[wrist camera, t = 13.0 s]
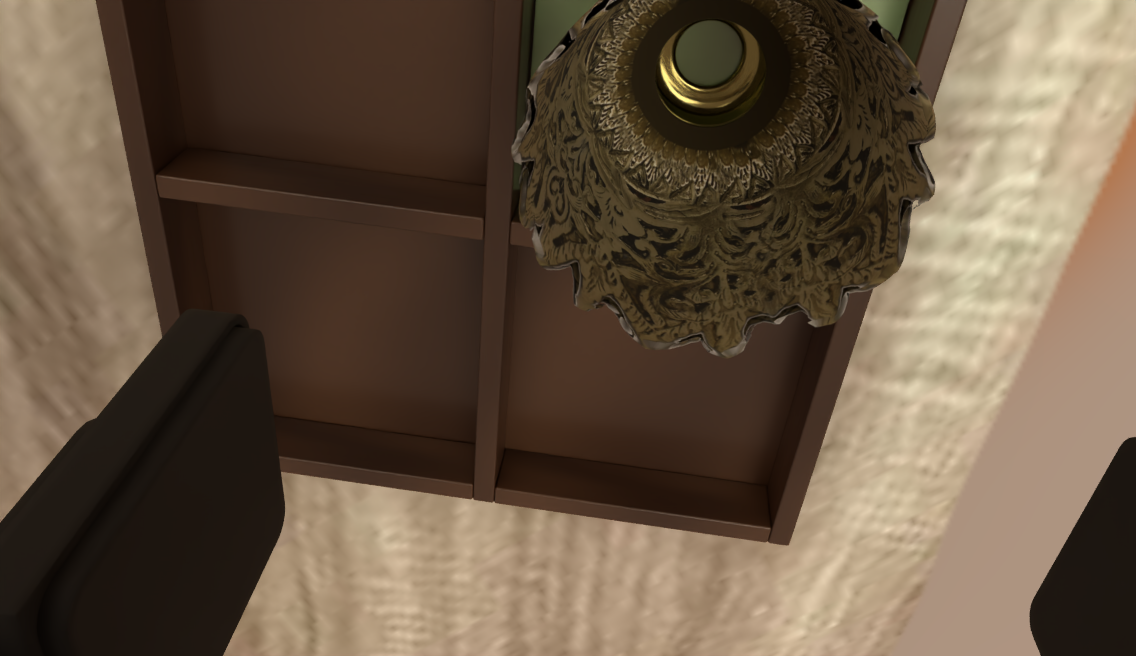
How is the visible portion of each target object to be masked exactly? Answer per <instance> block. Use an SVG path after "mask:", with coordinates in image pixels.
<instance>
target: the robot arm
mask: <svg viewBox="0 0 1136 656" xmlns="http://www.w3.org/2000/svg"><path fill="white" fill-rule="evenodd" d="M284 516H285V501H284V493H283V485H282V477H281V469H280V461H279V453H278V445H277V437H276V429H275V421H274V413H273V405H272V397H271V389H270V381H269V373H268V365H267V357H266V349H265V341H264V337H263V334H262V332H261V331H259V330H256V329H250V328H249V324H248V321H247V320H246V318H245V317H244V316H243V315H241V314H234V313H226V312H218V311H210V310H202V309H193V308H192V309H187V310H186V311H185V312H184V313H183V314H181V316H180V317H179V318H178V319H177V320H176V322H175V323H174V324H173V325H172V327H171V328H170V329H169V330H168V331H167V333H166V334H165V335H164V336H163V337H162V339H161V340H160V341H159V342H158V344H157V345H156V346H155V347H154V348H153V350H152V351H151V352H150V353H149V355H148V356H147V357H146V358H145V359H144V361H143V362H142V363H141V364H140V366H139V367H138V368H137V369H136V370H135V372H134V373H133V374H132V375H131V377H130V378H129V379H128V380H127V381H126V383H125V384H124V385H123V386H122V387H121V389H120V390H119V391H118V392H117V394H116V395H115V396H114V397H113V398H112V400H111V401H110V402H109V403H108V405H107V406H106V407H105V408H104V409H103V411H102V412H101V413H100V414H99V416H98V417H97V418H95V419H93V420H90V421H88V422H86V423H85V424H84V425H83V426H82V427H81V428H80V429H79V430H78V431H76V433H75V434H74V435H73V436H72V437H71V439H70V440H69V441H68V442H67V443H66V445H65V446H64V447H63V448H62V449H61V451H60V452H59V453H58V454H57V455H56V457H55V458H54V459H53V460H52V461H51V463H50V464H49V465H48V466H47V467H46V469H45V470H44V471H43V472H42V473H41V475H40V476H39V477H38V478H37V479H36V481H35V482H34V483H33V484H32V485H31V487H30V488H29V489H28V490H27V491H26V493H25V494H24V495H23V496H22V497H21V499H20V500H19V501H18V502H17V503H16V505H15V506H14V507H13V508H12V509H11V511H10V512H9V513H8V514H7V515H6V517H5V518H4V519H3V520H2V521H1V523H0V656H223V654H224V652H225V650H226V648H227V646H228V644H229V642H230V640H231V638H232V635H233V633H234V631H235V629H236V627H237V625H238V623H239V621H240V619H241V616H242V614H243V612H244V610H245V608H246V606H247V604H248V602H249V600H250V597H251V595H252V593H253V591H254V589H255V587H256V585H257V583H258V581H259V579H260V576H261V574H262V572H263V570H264V568H265V566H266V564H267V562H268V560H269V557H270V555H271V553H272V551H273V549H274V547H275V545H276V543H277V541H278V538H279V536H280V533H281V530H282V527H283V522H284ZM1030 627H1031V631H1032V634H1033V637H1034V640H1035V642H1036V645H1037V647H1038V650H1039V652H1040V655H1041V656H1136V437H1132V438H1129V439H1127V440H1125V441H1124V442H1123V444H1122V445H1121V446H1120V448H1119V449H1118V451H1117V453H1116V455H1115V456H1114V458H1113V460H1112V462H1111V463H1110V465H1109V467H1108V469H1107V470H1106V472H1105V474H1104V476H1103V477H1102V479H1101V481H1100V483H1099V484H1098V486H1097V488H1096V490H1095V491H1094V493H1093V495H1092V497H1091V499H1090V500H1089V502H1088V504H1087V506H1086V507H1085V509H1084V511H1083V513H1082V514H1081V516H1080V518H1079V520H1078V522H1077V523H1076V525H1075V527H1074V528H1073V530H1072V532H1071V534H1070V535H1069V537H1068V539H1067V541H1066V542H1065V544H1064V546H1063V548H1062V549H1061V551H1060V553H1059V555H1058V557H1057V558H1056V560H1055V562H1054V564H1053V565H1052V567H1051V569H1050V570H1049V572H1048V574H1047V576H1046V578H1045V579H1044V581H1043V583H1042V585H1041V586H1040V588H1039V590H1038V592H1037V593H1036V595H1035V597H1034V599H1033V601H1032V604H1031V608H1030Z"/></svg>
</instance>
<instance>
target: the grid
mask: <svg viewBox="0 0 1136 656" xmlns="http://www.w3.org/2000/svg"><path fill="white" fill-rule="evenodd" d="M597 1H598V0H96V4H97V9H98V14H99V19H100V25H101V30H102V35H103V40H104V45H105V50H106V55H107V60H108V65H109V70H110V75H111V80H112V85H113V90H114V95H115V100H116V105H117V110H118V115H119V120H120V125H121V130H122V135H123V140H124V145H125V150H126V156H127V161H128V166H129V171H130V176H131V181H132V186H133V191H134V196H135V201H136V206H137V211H138V216H139V221H140V226H141V231H142V236H143V241H144V246H145V251H146V256H147V261H148V266H149V271H150V276H151V282H152V287H153V292H154V297H155V302H156V307H157V312H158V317H159V322H160V327H161V332H162V337H163V336H164V335H165V334H166V333H167V331H168V330H169V329H170V328H171V327H172V325H173V324H174V323H175V322H176V320H177V319H178V318H179V317H180V316H181V314H183V313H184V312H185V311H186V310H187V309H192V308H193V309H202V310H210V311H218V312H226V313H234V314H241V315H243V316H244V317H245V318H246V320H247V321H248V324H249V328H250V329H256V330H259V331H261V332H262V334H263V337H264V341H265V349H266V357H267V365H268V373H269V381H270V389H271V397H272V405H273V413H274V421H275V429H276V437H277V445H278V453H279V461H280V469H281V472H287V473H294V474H300V475H307V476H314V477H321V478H328V479H335V480H342V481H348V482H355V483H362V484H369V485H376V486H383V487H390V488H396V489H403V490H410V491H417V492H424V493H431V494H438V495H445V496H451V497H458V498H465V499H472V498H474V500H478V501H485V502H493V501H495V503H499V504H506V505H513V506H519V507H526V508H533V509H540V510H547V511H554V512H561V513H567V514H574V515H581V516H588V517H595V518H602V519H609V520H615V521H622V522H629V523H636V524H643V525H650V526H657V527H664V528H670V529H677V530H684V531H691V532H698V533H705V534H712V535H718V536H725V537H732V538H739V539H746V540H753V541H760V542H767V541H768V542H769V543H773V544H780V545H789V543H790V540H791V537H792V534H793V531H794V528H795V525H796V522H797V519H798V516H799V513H800V510H801V507H802V504H803V501H804V498H805V495H806V492H807V489H808V485H809V482H810V479H811V476H812V473H813V470H814V467H815V464H816V461H817V458H818V455H819V452H820V449H821V446H822V443H823V440H824V437H825V434H826V431H827V427H828V424H829V421H830V418H831V415H832V412H833V409H834V406H835V403H836V400H837V397H838V394H839V391H840V388H841V385H842V382H843V379H844V376H845V373H846V369H847V366H848V363H849V360H850V357H851V354H852V351H853V348H854V345H855V342H856V339H857V336H858V333H859V330H860V327H861V324H862V321H863V318H864V315H865V311H866V308H867V305H868V302H869V299H870V296H871V293H872V290H873V289H871V290H868V291H865V292H854V293H850V294H849V299H848V302H847V305H846V309H845V311H844V313H843V314H842V316H841V317H840V319H839V320H838V321H836V322H835V323H833V324H830V325H825V326H821V327H815V326H813V325H811V324H809V323H808V322H810V321H812V320H811V319H809V318H808V315H806V314H805V313H803V312H802V311H799V312H796V313H794V314H791V315H788V316H786V317H785V319H784V320H783V321H782V322H781V323H780V324H772V323H767V322H762V323H759V324H756V326H754V325H752V326H754V327H753V331H752V332H751V333H750V334H751V335H752V336H751V337H750V339H749V340H748V341H749V342H748V343H747V344H746V346H745V348H744V350H743V351H742V352H741V353H739V354H738V355H736V356H734V357H731V358H722V357H719V356H716V355H713V354H711V353H709V352H707V351H706V349H705V348H704V346H703V344H702V342H701V341H699V342H693V343H689V344H687V345H684V346H680V347H676V348H672V349H666V350H649V349H645V348H644V347H642V346H641V345H640V344H638V343H637V342H636V341H635V340H634V339H633V338H632V337H631V336H630V335H629V334H628V333H627V332H626V331H625V330H624V329H623V327H622V326H621V324H620V322H619V320H618V317H617V316H616V315H615V313H614V312H613V311H612V310H611V309H609V308H608V307H607V305H606V304H605V303H599V304H605V305H604V306H603V307H602V308H599V309H592V310H590V311H584V310H581V309H579V308H578V307H576V306H575V305H574V302H573V276H572V269H571V267H567V268H565V269H561V270H546V269H544V268H543V267H541V266H540V265H539V263H538V261H537V259H536V253H535V249H534V245H533V241H532V235H533V231H534V228H533V229H532V230H531V231H530V228H525V227H524V226H523V225H522V224H521V221H520V217H519V201H520V186H519V179H520V176H521V172H522V170H523V168H524V164H525V162H521V164H522V165H520V164H519V163H517V162H514V159H513V158H512V155H511V147H512V143H513V140H514V138H515V135H516V132H517V130H518V129H519V127H520V125H521V124H522V122H523V120H524V117H525V112H526V105H527V104H526V99H525V98H526V90H527V87H528V85H529V82H530V80H531V78H532V77H533V75H534V73H535V72H536V70H537V68H538V67H539V66H540V64H541V63H542V62H543V60H544V59H545V58H546V57H547V56H548V54H549V53H550V52H551V51H552V50H553V49H554V48H555V47H556V46H557V44H558V43H559V42H560V41H561V39H562V38H563V37H564V36H565V35H566V34H567V32H568V30H569V29H570V28H571V27H572V26H573V25H574V24H575V23H576V22H577V21H578V20H579V19H580V18H581V17H582V16H583V15H584V14H585V13H586V12H587V11H588V10H589V9H590V8H591V7H592V6H593V5H594V4H595V3H596V2H597ZM859 1H860V2H862V3H863V4H865V5H866V6H867V7H868V8H870V9H871V10H872V11H873V12H875V13H876V14H877V15H878V16H879V18H878V20H877V21H878V22H879V24H880V25H881V26H882V27H883V28H885V29H886V30H888V31H889V32H891V33H892V35H893V36H894V37H895V39H896V40H897V42H898V43H899V45H900V46H901V48H902V49H903V51H904V52H905V53H906V55H907V56H908V57H909V59H910V60H911V61H912V63H913V64H914V65H915V67H916V68H917V70H918V72H919V76H920V80H921V82H922V84H923V85H921V86H920V88H921V89H922V90H923V91H924V92H925V93H926V94H927V95H928V96H929V99H930V102H931V104H932V107H933V104H934V101H935V98H936V95H937V92H938V89H939V86H940V83H941V80H942V76H943V73H944V70H945V67H946V64H947V61H948V58H949V55H950V52H951V49H952V46H953V43H954V40H955V37H956V34H957V31H958V28H959V25H960V22H961V18H962V15H963V12H964V9H965V6H966V3H967V0H859ZM741 58H742V45H741V41H740V39H739V37H738V35H737V34H736V32H735V31H734V30H733V29H732V28H731V27H729V26H728V25H726V24H724V23H722V22H718V21H703V22H700V23H697V24H695V25H693V26H691V27H690V28H689V29H688V30H687V31H686V32H685V33H684V34H683V35H682V37H681V38H680V40H679V42H678V45H677V49H676V61H677V65H678V67H679V70H680V71H681V73H682V74H683V76H684V77H685V78H687V79H688V80H689V81H691V82H692V83H694V84H697V85H701V86H714V85H718V84H721V83H723V82H725V81H726V80H728V79H729V78H730V77H731V76H732V75H733V74H734V73H735V72H736V70H737V69H738V67H739V65H740V62H741ZM919 147H920V145H919ZM599 304H598V305H599ZM752 326H750V328H751V327H752ZM750 328H749V329H750ZM748 331H749V330H748ZM747 334H748V332H747ZM747 334H746V336H747ZM746 336H745V341H747V340H746Z"/></svg>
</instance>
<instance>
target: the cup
mask: <svg viewBox="0 0 1136 656" xmlns="http://www.w3.org/2000/svg"><path fill="white" fill-rule="evenodd" d="M878 18H879V16H878V15H877V14H876V13H875V12H873V11H872V10H871V9H870V8H868V7H867V6H866V5H865V4H863V3H862V2H860V1H859V0H598V1H597V2H596V3H595V4H594V5H593V6H592V7H591V8H590V9H589V10H588V11H587V12H586V13H585V14H584V15H583V16H582V17H581V18H580V19H579V20H578V21H577V22H576V23H575V24H574V25H573V26H572V27H571V28H570V29H569V30H568V32H567V34H566V35H565V36H564V37H563V38H562V39H561V41H560V42H559V43H558V44H557V46H556V47H555V48H554V49H553V50H552V51H551V52H550V53H549V54H548V56H547V57H546V58H545V59H544V60H543V62H542V63H541V64H540V66H539V67H538V68H537V70H536V72H535V73H534V75H533V77H532V78H531V80H530V82H529V85H528V87H527V90H526V98H525V99H526V104H527V105H526V112H525V117H524V120H523V122H522V124H521V125H520V127H519V129H518V130H517V132H516V135H515V138H514V140H513V143H512V147H511V155H512V158H513V159H514V162H517V163H519V164H520V165H522V164H521V162H525V164H524V168H523V170H522V172H521V176H520V179H519V186H520V201H519V217H520V221H521V224H522V225H523V226H524V227H525V228H530V231H531V230H532V229H533V228H534V231H533V235H532V241H533V245H534V249H535V253H536V259H537V261H538V263H539V265H540V266H541V267H543V268H544V269H546V270H561V269H565V268H567V267H571V269H572V276H573V302H574V305H575V306H576V307H578V308H579V309H581V310H584V311H590V310H592V309H599V308H602V307H603V306H604V305H605V304H606V305H607V307H608V308H609V309H611V310H612V311H613V312H614V313H615V315H616V316H617V317H618V320H619V322H620V324H621V326H622V327H623V329H624V330H625V331H626V332H627V333H628V334H629V335H630V336H631V337H632V338H633V339H634V340H635V341H636V342H637V343H638V344H640V345H641V346H642V347H644V348H645V349H649V350H666V349H672V348H676V347H680V346H684V345H687V344H689V343H693V342H699V341H701V342H702V344H703V346H704V348H705V349H706V351H707V352H709V353H711V354H713V355H716V356H719V357H722V358H731V357H734V356H736V355H738V354H739V353H741V352H742V351H743V350H744V348H745V346H746V344H747V343H748V342H749V341H748V340H749V339H750V337H751V336H752V335H751V334H750V333H751V332H752V331H753V327H754V326H756V324H759V323H762V322H767V323H772V324H780V323H781V322H782V321H783V320H784V319H785V317H786V316H788V315H791V314H794V313H796V312H799V311H802V312H803V313H805V314H806V315H808V318H809V319H811V320H812V321H810V322H808V323H809V324H811V325H813V326H815V327H821V326H825V325H830V324H833V323H835V322H836V321H838V320H839V319H840V317H841V316H842V314H843V313H844V311H845V309H846V305H847V302H848V299H849V294H850V293H854V292H865V291H868V290H871V289H873V288H875V287H877V286H878V285H880V284H881V283H883V282H884V281H886V280H887V279H888V278H890V277H891V276H892V275H893V274H894V273H896V272H897V271H898V270H899V268H900V266H901V264H902V262H903V259H904V256H905V252H906V248H907V243H908V238H909V233H910V217H911V212H912V204H913V201H915V200H919V202H918V205H916V206H915V207H914V208H913V209H915V208H916V207H918V206H919V205H921V204H922V203H924V202H926V201H929V200H930V198H931V197H932V196H933V195H934V191H935V181H934V179H933V176H932V174H931V172H930V170H929V169H928V166H927V164H926V163H925V161H924V158H923V156H922V153H921V151H920V148H919V145H920V144H922V143H926V142H928V141H930V140H931V139H933V138H934V135H935V130H936V123H935V114H934V111H933V107H932V104H931V102H930V99H929V96H928V95H927V94H926V93H925V92H924V91H923V90H922V89H921V88H920V86H921V85H923V84H922V82H921V80H920V76H919V72H918V70H917V68H916V67H915V65H914V64H913V63H912V61H911V60H910V59H909V57H908V56H907V55H906V53H905V52H904V51H903V49H902V48H901V46H900V45H899V43H898V42H897V40H896V39H895V37H894V36H893V35H892V33H891V32H889V31H888V30H886V29H885V28H883V27H882V26H881V25H880V24H879V22H878V21H877V20H878ZM703 21H718V22H722V23H724V24H726V25H728V26H729V27H731V28H732V29H733V30H734V31H735V32H736V34H737V35H738V37H739V39H740V41H741V45H742V58H741V62H740V65H739V67H738V69H737V70H736V72H735V73H734V74H733V75H732V76H731V77H730V78H729V79H728V80H726V81H725V82H723V83H721V84H718V85H714V86H701V85H697V84H694V83H692V82H691V81H689V80H688V79H687V78H685V77H684V76H683V74H682V73H681V71H680V70H679V67H678V65H677V61H676V49H677V45H678V42H679V40H680V38H681V37H682V35H683V34H684V33H685V32H686V31H687V30H688V29H689V28H690V27H691V26H693V25H695V24H697V23H700V22H703ZM599 303H605V304H599ZM598 304H599V305H598ZM752 325H754V326H752ZM750 326H752V327H751V328H750ZM749 328H750V329H749ZM748 330H749V331H748ZM747 332H748V334H747ZM746 334H747V336H746ZM745 336H746V340H747V341H745Z"/></svg>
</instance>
